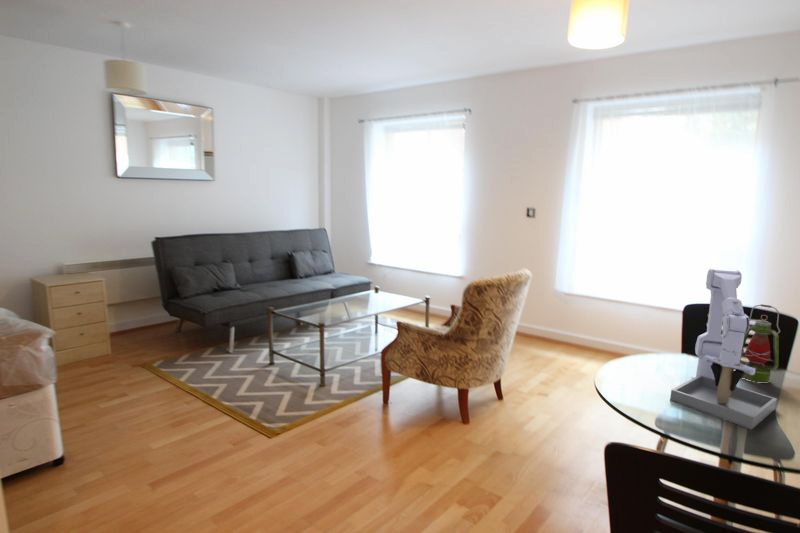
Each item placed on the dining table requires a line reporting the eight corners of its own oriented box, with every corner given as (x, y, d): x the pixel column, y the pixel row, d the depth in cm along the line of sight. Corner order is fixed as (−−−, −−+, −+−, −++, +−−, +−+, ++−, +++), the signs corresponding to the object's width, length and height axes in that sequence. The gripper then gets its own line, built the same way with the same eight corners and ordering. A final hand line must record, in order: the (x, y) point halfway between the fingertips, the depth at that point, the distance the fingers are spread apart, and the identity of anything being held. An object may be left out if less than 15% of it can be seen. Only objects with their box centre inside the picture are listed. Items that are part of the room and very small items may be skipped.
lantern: (730, 377, 190) (743, 304, 185) (733, 369, 199) (745, 299, 193) (774, 387, 182) (788, 311, 176) (775, 379, 190) (789, 306, 184)
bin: (697, 384, 181) (699, 374, 181) (775, 409, 163) (777, 398, 162) (669, 400, 167) (671, 389, 166) (751, 429, 148) (753, 417, 147)
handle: (730, 407, 161) (737, 365, 158) (709, 400, 165) (715, 359, 163) (735, 404, 164) (742, 362, 161) (714, 397, 168) (720, 356, 166)
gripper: (702, 345, 164) (696, 382, 167) (752, 358, 153) (745, 398, 156) (710, 342, 169) (705, 378, 171) (760, 354, 158) (752, 393, 160)
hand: (724, 387), depth 164 cm, fingers closed on handle, 4 cm apart
